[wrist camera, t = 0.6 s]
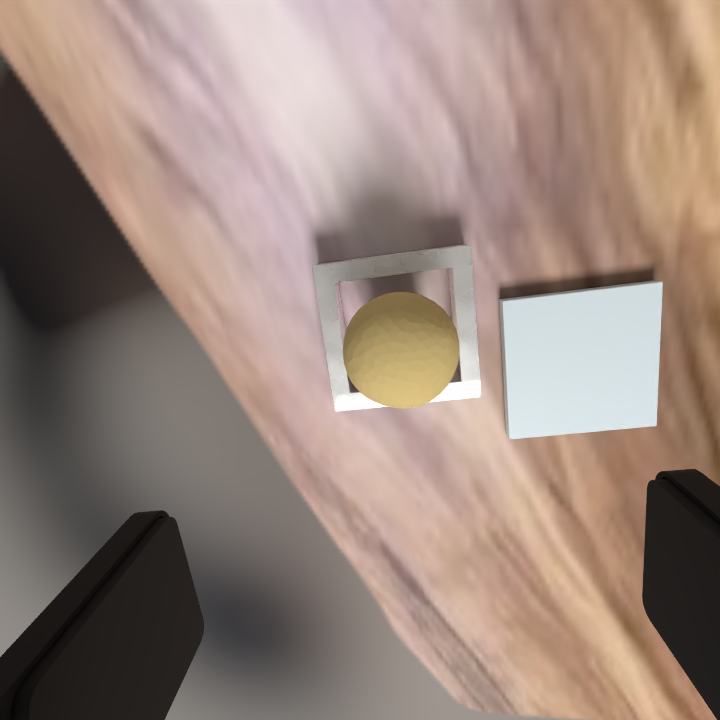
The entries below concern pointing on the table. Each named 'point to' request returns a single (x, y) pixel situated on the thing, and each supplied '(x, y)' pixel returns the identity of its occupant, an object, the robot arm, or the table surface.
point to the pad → (581, 359)
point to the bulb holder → (449, 257)
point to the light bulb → (401, 350)
